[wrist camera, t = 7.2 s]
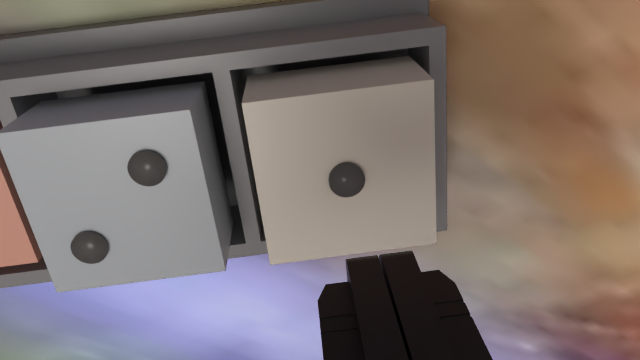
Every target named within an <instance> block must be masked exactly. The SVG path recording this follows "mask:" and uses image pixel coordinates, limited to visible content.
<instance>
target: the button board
mask: <svg viewBox="0 0 640 360" xmlns="http://www.w3.org/2000/svg"><path fill="white" fill-rule="evenodd" d="M403 56H410V57H411V58H412V59H413V60H414V61H415V62H416V63H417V64H418V65H419V66H420V67H421V68H422V69H424V70H425V71H426V72H427V73H428V74H429V75H430V76H431V77H432V78H433V79H434V111H435V175H436V232H438V231H446V230H447V111H446V26H445V25H443V24H442V23H440V22H438V21H436V20H434V19H433V18H431V17H429V0H288V1H280V2H271V3H263V4H255V5H247V6H238V7H230V8H222V9H214V10H206V11H197V12H189V13H181V14H173V15H164V16H156V17H148V18H140V19H131V20H123V21H115V22H107V23H98V24H90V25H82V26H74V27H66V28H57V29H49V30H41V31H33V32H24V33H16V34H8V35H0V121H1V123H2V126H3V128H4V127H5V126H7V125H8V124H9V123H11V122H12V121H14V120H15V119H16V118H18V117H19V116H21V115H22V114H24V113H25V112H26V111H28V110H29V109H31V108H32V107H33V106H35V105H36V104H38V103H39V102H41V101H47V100H55V99H63V98H71V97H79V96H87V95H95V94H103V93H111V92H119V91H128V90H136V89H144V88H152V87H160V86H168V85H176V84H184V83H192V82H200V81H205V86H206V91H207V96H208V101H209V106H210V110H211V115H212V120H213V125H214V130H215V135H216V140H217V145H218V150H219V154H220V159H221V164H222V169H223V174H224V179H225V184H226V189H227V193H228V198H229V203H230V208H231V213H232V218H233V228H232V234H231V240H230V246H229V252H228V259H229V258H237V257H245V256H252V255H260V254H268V250H267V244H266V238H265V233H264V227H263V222H262V216H261V210H260V205H259V199H258V193H257V188H256V182H255V176H254V171H253V165H252V160H251V154H250V148H249V143H248V137H247V131H246V126H245V120H244V114H243V109H242V99H243V95H244V90H245V86H246V81H247V77H248V76H250V75H258V74H266V73H274V72H282V71H290V70H298V69H306V68H314V67H322V66H330V65H339V64H347V63H355V62H363V61H371V60H379V59H387V58H395V57H403ZM51 281H52V279H51V276H50V274H49V271H48V269H47V266H46V263H45V261H44V258H43V256H42V258H41V259H40V260H39V262H36V263H28V264H20V265H13V266H5V267H0V288H5V287H13V286H20V285H28V284H36V283H43V282H51Z"/></svg>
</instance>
